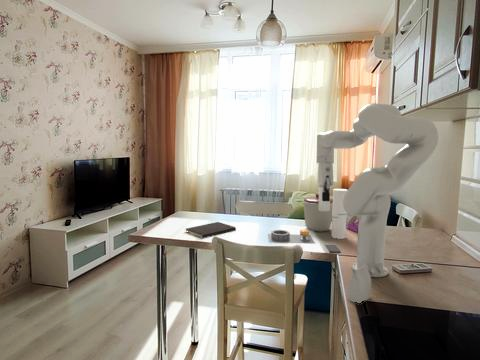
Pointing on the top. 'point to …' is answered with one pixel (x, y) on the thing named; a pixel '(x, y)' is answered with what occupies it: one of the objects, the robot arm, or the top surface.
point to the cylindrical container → (338, 214)
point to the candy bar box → (352, 222)
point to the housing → (287, 237)
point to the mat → (333, 248)
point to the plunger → (304, 233)
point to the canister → (316, 214)
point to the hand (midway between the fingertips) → (324, 199)
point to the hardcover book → (210, 229)
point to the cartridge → (323, 204)
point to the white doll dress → (360, 285)
